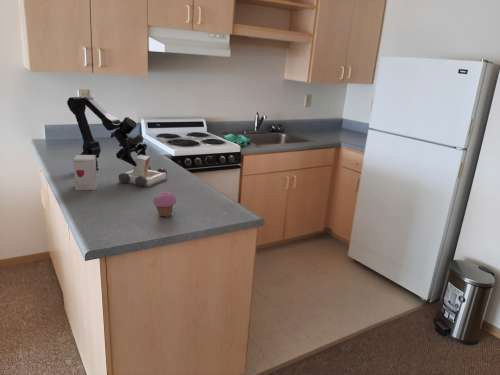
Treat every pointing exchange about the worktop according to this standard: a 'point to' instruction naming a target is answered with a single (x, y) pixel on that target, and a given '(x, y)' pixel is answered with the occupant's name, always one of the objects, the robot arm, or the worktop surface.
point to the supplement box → (85, 172)
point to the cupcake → (164, 203)
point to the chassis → (141, 181)
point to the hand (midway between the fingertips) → (141, 164)
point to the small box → (141, 165)
